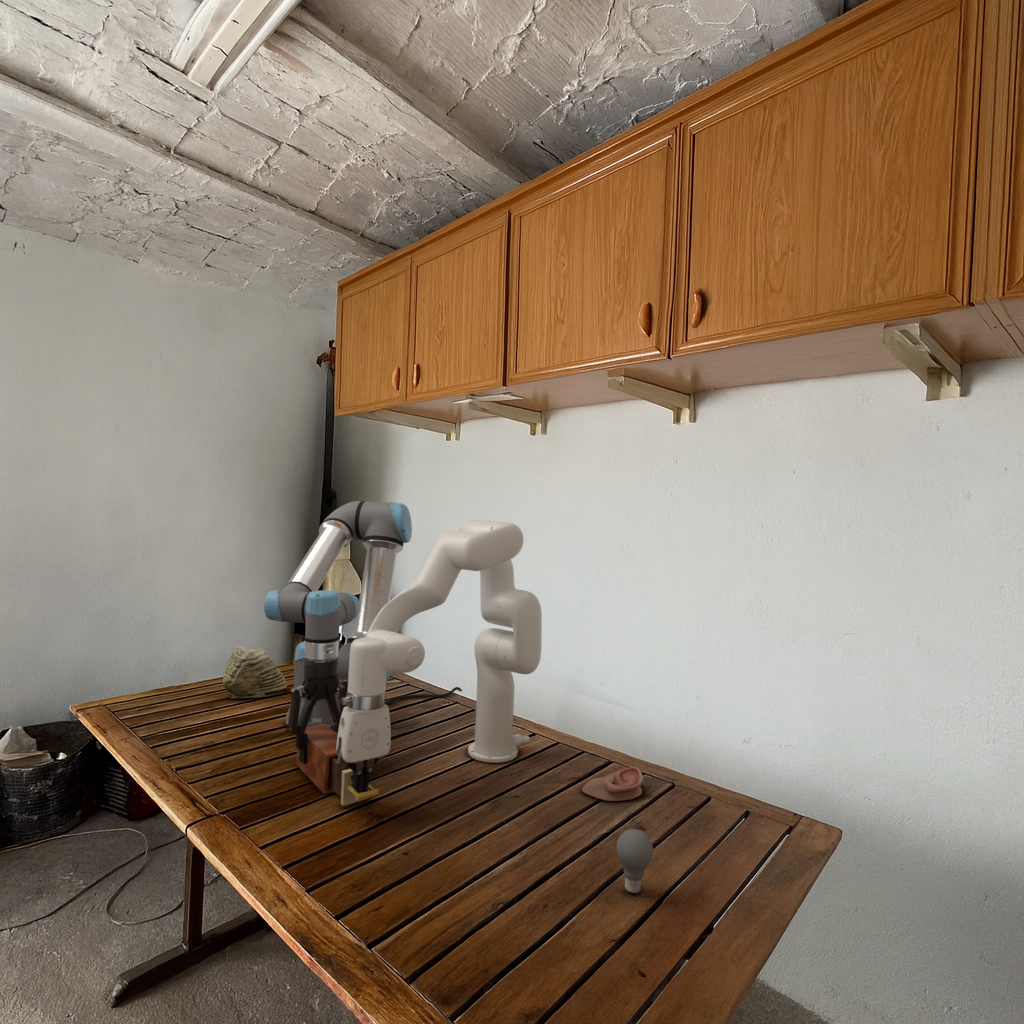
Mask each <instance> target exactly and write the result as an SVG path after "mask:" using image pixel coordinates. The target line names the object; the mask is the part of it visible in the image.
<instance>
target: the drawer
mask: <svg viewBox="0 0 1024 1024" xmlns="http://www.w3.org/2000/svg"><path fill="white" fill-rule="evenodd" d="M337 758H338V756H334V757H330V758H329V778H328V786H329V787H330V788H331V789H332V790H333V791H334V792H333V793H335V794H336V796H338V797H339V798H340V805H342V806H343V807H344V806H347V805H350V804H354V803H358V802H361V801H365V800H368V799H369V798H372V797H376V796H379V793H380V792H379V791H380V790H379V789H378V788H374V787H373V786H372V785H371V784H370V783H369V786H368V791H366V792H362V793H358V792H357V791H356V790H354V789H353V787H352V778H353V771H352V770H351V769H350V768H349V767H339V766H338V765H337V764H336V761H337Z"/></svg>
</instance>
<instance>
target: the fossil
mask: <svg viewBox="0 0 1024 1024" xmlns="http://www.w3.org/2000/svg"><path fill="white" fill-rule="evenodd" d="M222 676H223V677H222V685H223V687H224V688H225V690H226V691H228V693H229V698H230V699H250V698H264V697H271V696H275V695H281V694H284V693H285V691H286V689H287V687H288V686H287V680H286V678H285V676H284V674H283V673H282V672H281V669H279V668H278V667H277V665H276V663H275V662H274V660H273V659H272V658H271V657H270V656H269V655H268V654H267V653H266V652H265V650H264V649H263V648H260V647H258V648H251V647H247V646H246V647H245V646H238V647H237V648H236V649H235V650H233V651H232V653H231V656H230V657H229V659H228V660H227V663H226V666H225V668H224V671H223V675H222Z"/></svg>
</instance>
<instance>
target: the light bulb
mask: <svg viewBox="0 0 1024 1024" xmlns="http://www.w3.org/2000/svg"><path fill="white" fill-rule="evenodd" d="M615 849H616V854H617V857H618V859H619V861H620V863H621V865H622V867H623V873H624V874H623V875H624V876H625V878H624V888H625V890H627V891H628V892H630V893H634V894H635V893H639V892H640V891H641V889H642V887H641V886H642V879H643V877H644V875H645V871H646V868H647V867H648V866H649V864H650V863H651V861H652V859H653V855H654V847H653V843H652V841H651V838H649V836H648V835H647V834H646V833H645V832H643V831H642V830H641V829H636V828H629V829H627V830H625V831H623V832H622V833H621V834H620V835H619V837H618V839H617V841H616V847H615Z"/></svg>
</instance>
